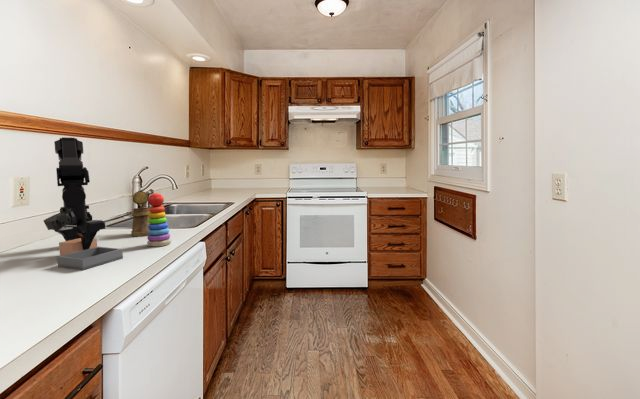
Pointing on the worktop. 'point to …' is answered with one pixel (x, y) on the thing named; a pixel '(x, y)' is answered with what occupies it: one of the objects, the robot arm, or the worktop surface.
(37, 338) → the worktop surface
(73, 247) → the salmon orange block
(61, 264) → the tray
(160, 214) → the stacking toy
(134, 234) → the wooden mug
